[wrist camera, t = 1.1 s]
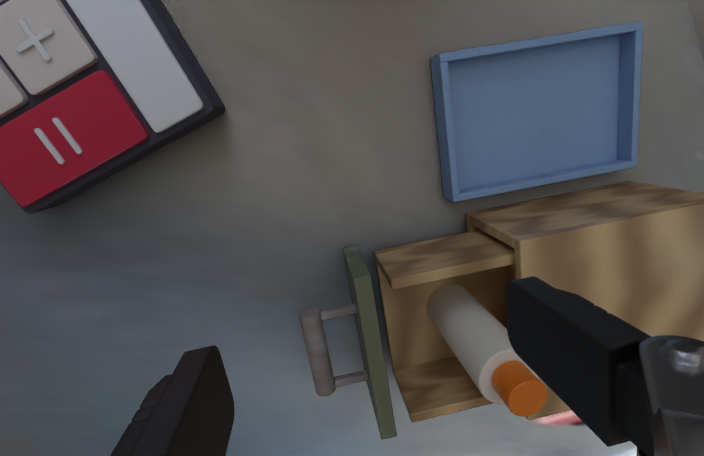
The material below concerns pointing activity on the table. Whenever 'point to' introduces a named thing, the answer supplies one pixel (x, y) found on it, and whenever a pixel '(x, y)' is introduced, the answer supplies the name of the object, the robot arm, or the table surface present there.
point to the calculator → (91, 93)
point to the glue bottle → (485, 350)
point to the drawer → (412, 323)
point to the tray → (538, 110)
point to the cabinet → (612, 254)
